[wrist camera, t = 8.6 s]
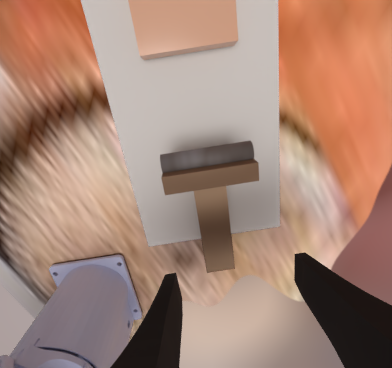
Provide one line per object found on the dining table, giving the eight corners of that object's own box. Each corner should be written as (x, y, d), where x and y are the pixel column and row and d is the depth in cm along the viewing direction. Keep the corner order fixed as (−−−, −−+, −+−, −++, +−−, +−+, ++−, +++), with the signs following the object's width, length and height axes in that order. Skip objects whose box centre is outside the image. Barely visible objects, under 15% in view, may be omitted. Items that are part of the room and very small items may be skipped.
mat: (278, 224, 23) (280, 226, 22) (149, 244, 23) (148, 246, 22) (274, -104, 14) (277, -110, 13) (64, -69, 14) (60, -74, 14)
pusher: (242, 238, 23) (264, 288, 16) (187, 247, 23) (187, 299, 17) (234, 131, 19) (257, 144, 12) (166, 142, 19) (157, 160, 13)
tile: (238, 40, 15) (230, -76, 13) (139, 56, 15) (116, -57, 13) (233, 46, 16) (226, -57, 14) (144, 60, 16) (123, -40, 14)
